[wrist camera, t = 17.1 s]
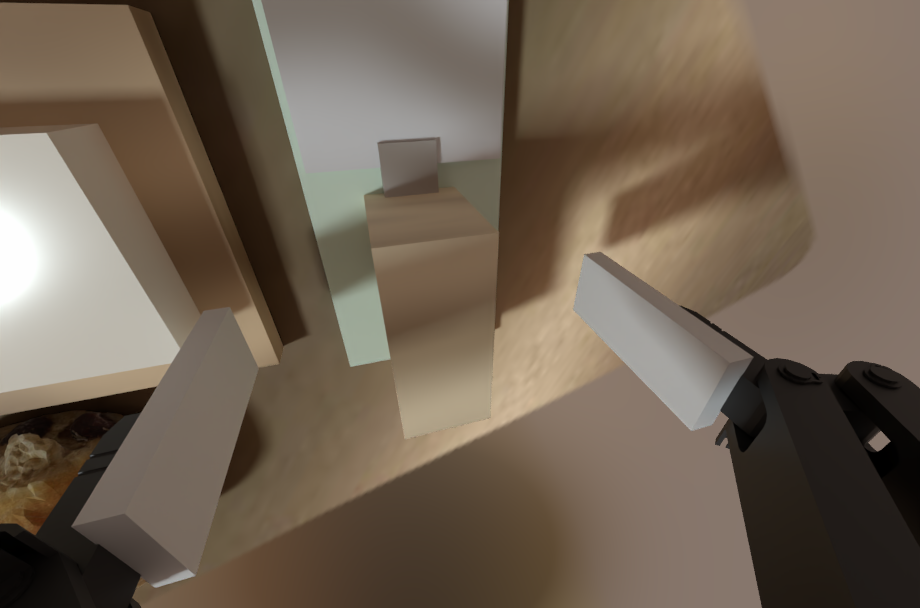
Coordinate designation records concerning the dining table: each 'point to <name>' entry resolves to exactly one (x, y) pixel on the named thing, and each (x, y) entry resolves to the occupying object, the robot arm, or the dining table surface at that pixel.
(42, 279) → the tile
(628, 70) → the dining table surface
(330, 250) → the mat
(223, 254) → the board
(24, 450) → the bread roll
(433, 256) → the panel with upright block
